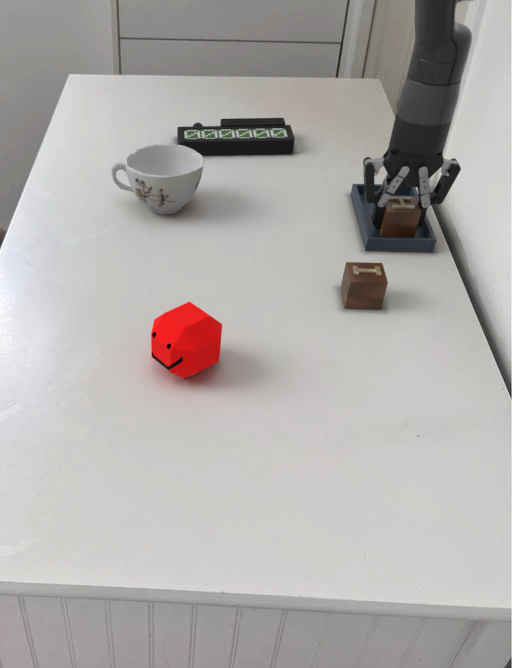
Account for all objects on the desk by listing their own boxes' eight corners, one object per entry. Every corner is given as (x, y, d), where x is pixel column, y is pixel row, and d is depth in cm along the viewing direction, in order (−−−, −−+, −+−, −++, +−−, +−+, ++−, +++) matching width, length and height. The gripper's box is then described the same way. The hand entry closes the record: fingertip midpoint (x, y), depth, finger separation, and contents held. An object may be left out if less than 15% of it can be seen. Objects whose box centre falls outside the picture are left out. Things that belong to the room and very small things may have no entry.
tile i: (375, 289, 102) (382, 260, 99) (381, 309, 99) (388, 280, 95) (340, 288, 102) (346, 259, 99) (344, 308, 99) (350, 279, 96)
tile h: (408, 222, 113) (415, 194, 110) (414, 238, 110) (422, 210, 106) (376, 221, 113) (382, 193, 110) (380, 237, 110) (387, 209, 107)
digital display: (288, 114, 137) (295, 137, 130) (286, 132, 139) (293, 155, 133) (177, 116, 137) (179, 139, 130) (176, 133, 139) (178, 157, 133)
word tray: (411, 196, 121) (414, 184, 119) (433, 252, 109) (437, 240, 107) (350, 195, 121) (352, 183, 120) (365, 251, 109) (367, 238, 108)
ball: (141, 361, 92) (140, 311, 86) (190, 338, 95) (191, 288, 89) (181, 394, 87) (182, 343, 82) (230, 368, 90) (234, 317, 85)
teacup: (207, 192, 123) (209, 144, 117) (196, 228, 114) (198, 178, 109) (121, 185, 125) (119, 138, 119) (105, 220, 117) (101, 171, 111)
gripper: (376, 122, 96) (351, 239, 109) (485, 123, 96) (447, 241, 108) (368, 101, 102) (345, 215, 114) (471, 102, 101) (437, 216, 113)
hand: (395, 227), depth 111 cm, fingers closed on tile h, 5 cm apart
